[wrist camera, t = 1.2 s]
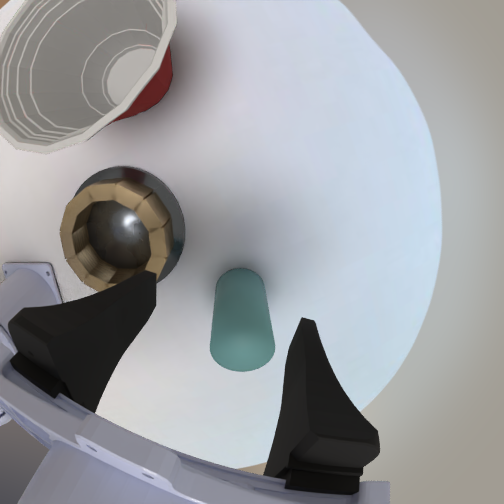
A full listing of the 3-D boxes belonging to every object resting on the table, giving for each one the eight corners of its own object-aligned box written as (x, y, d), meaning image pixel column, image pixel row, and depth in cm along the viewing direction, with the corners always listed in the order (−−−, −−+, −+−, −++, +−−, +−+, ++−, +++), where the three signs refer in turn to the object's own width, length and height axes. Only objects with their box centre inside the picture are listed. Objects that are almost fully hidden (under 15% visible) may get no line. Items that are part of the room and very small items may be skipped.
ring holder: (190, 286, 26) (184, 307, 23) (84, 285, 25) (69, 303, 22) (181, 161, 22) (172, 165, 19) (64, 173, 21) (43, 180, 18)
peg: (264, 309, 27) (273, 370, 20) (217, 310, 27) (212, 371, 20) (265, 267, 26) (276, 322, 18) (214, 268, 25) (207, 324, 18)
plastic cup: (213, 16, 17) (195, -69, 6) (199, 141, 21) (160, 149, 10) (90, 27, 16) (8, -16, 5) (76, 143, 20) (-23, 164, 9)
